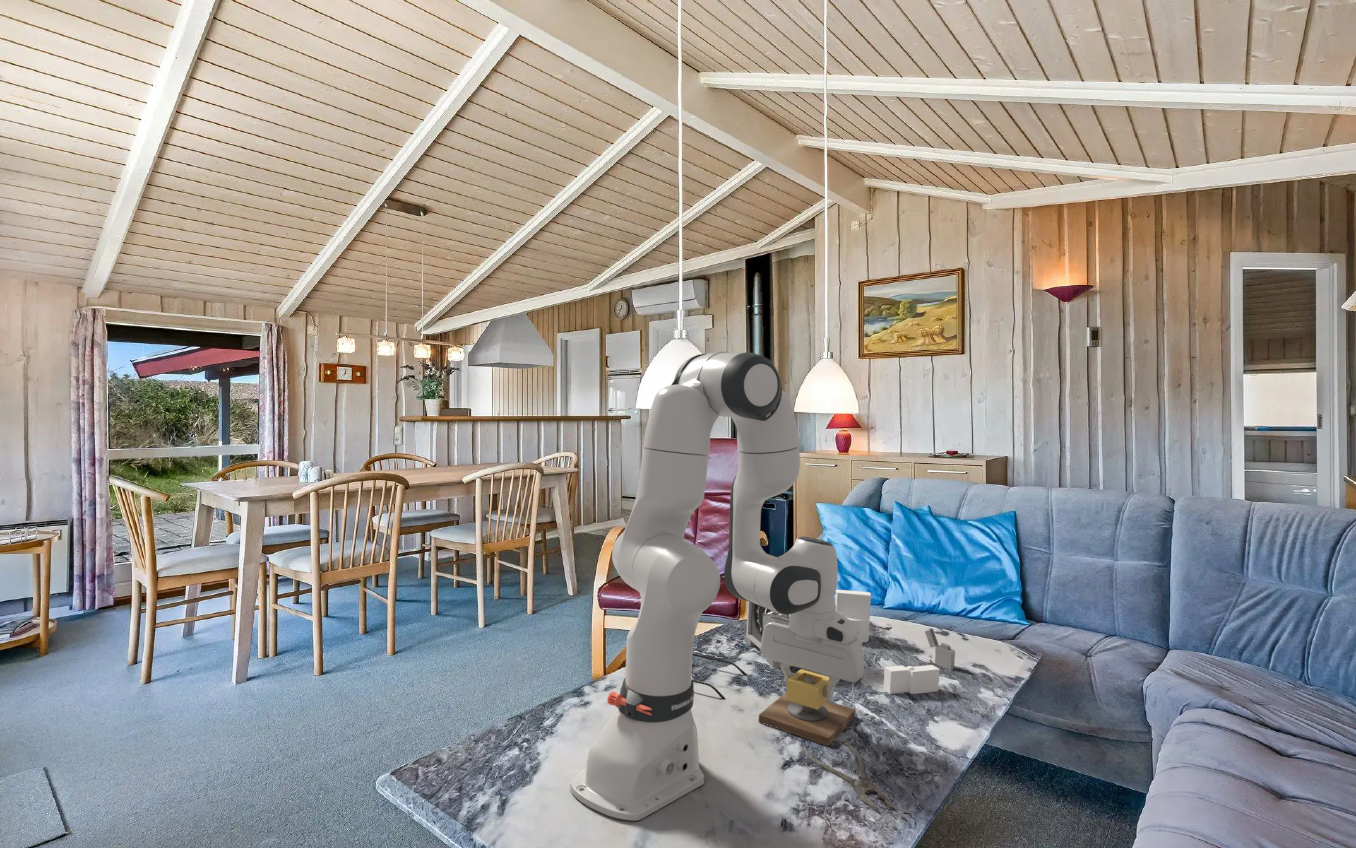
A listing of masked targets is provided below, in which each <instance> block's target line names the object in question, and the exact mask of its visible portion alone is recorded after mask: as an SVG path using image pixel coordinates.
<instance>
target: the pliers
mask: <svg viewBox="0 0 1356 848" xmlns="http://www.w3.org/2000/svg"><path fill="white" fill-rule="evenodd" d="M844 746H847V748H849V749H850V750H851V751H852V752H853V753H854V754H855V756H856V758H857V762H858V763H857V764H858V765H857V776H858V779H856V778H853V777H850V776H849V775H847V774H845V773H843V772H841V771H839V770H837V769H835V768H832V767H831V766H828V765H827V764H824V763H822V762H820V761H819V760H818V759H816V758H815V757H813V755H811V754H810V752H809V750H808V748H807V747H806V746H803V747H802V750H803V752H804V754H805V756H806V757H807V759H809V760H810V761H812V762H813V763H814V764H815V765H817V766H818V767H820V768H821V769H823V770H825V771H827V772H829V773H832V774H833V775H835V776H836V777H838V778H839V779H840V778H841V779H842V780H844V781H845V782H846V783H848V785H850V786H851V787H852V788H853V789H854V792H855V793H856V795H857V796H858V798H859V800H860V801H861V802H862V803H864V804H865V805H866V806H868V807H869V808H870V809H872V811H874V812H875V813H879V809H878V807H877V805H876V804H875V802H873V801H872V796H870V795H868V794H871V795H876V799H877V800H879V801H880V802H882V803H883V804H884V805H885V806H886V807H887V808H889V809H890V810H891V811H894V805H893V803H892V802H891V801H890V799H889V798H888V797H887V795H886V794H885V793H884V792H883V791H882V790H881V789H880V788H879V787H877V786H876V785H875V784H874V783H873V782H872V781H871V779H869V778H868V777H867V775H866V773H865V767H864V763H865V762H864V759H863V757H862V755H861V754H860V752H859V751H858V750H857V749H856V748H855V747H854V746H853V745H852V744H850V743H849V742H847V741H844Z"/></svg>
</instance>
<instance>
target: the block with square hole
mask: <svg viewBox="0 0 1356 848" xmlns="http://www.w3.org/2000/svg"><path fill="white" fill-rule="evenodd" d="M792 675H793V676H791V677H790V678H789V679H788V680H787V685H786V692H787V699H786V700H788V701H791V702H794V703H798V704H801V705H804V706H807V707H810V708H814V709H817V710H818V709H819V708H820V707H821V706H822V705H823V704H824V703H825V702H826V701H829V700H830V698H826V697H823V688H824V687H825V686H826V685H828V686H829V685H830V684H831V683H832V682H830V681H829V676H827V675H824V674H820V673H817V672H813V671H809V670H806V669H802V668H800V669H799V670H798V671H796V672H795V673H794V674H792ZM806 676H812V677H813V678H814V680H815V685H814V684H810V683H807V682H803V680H804V678H805V677H806Z"/></svg>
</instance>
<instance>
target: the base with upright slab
mask: <svg viewBox="0 0 1356 848" xmlns="http://www.w3.org/2000/svg"><path fill="white" fill-rule="evenodd" d="M871 594H872V593H871V592H869V591H860V590H845V589H836V591H835V598H834V599H835V603H836V612H838V613H839V614H841V615H842V616H844V617H846V618H847V619H849V620H851V621H853V622H855V623H856V624H858V625H859V626H860V634H859V635H858V636H857V638H858V639H859V640H860V642H861V644H864V643H863V642H865V643H867V642H869V640H870V639H869V637H870V622H871V621H870V619H871V618H870V617H871V600H872V599H871V598H872V595H871Z"/></svg>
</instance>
